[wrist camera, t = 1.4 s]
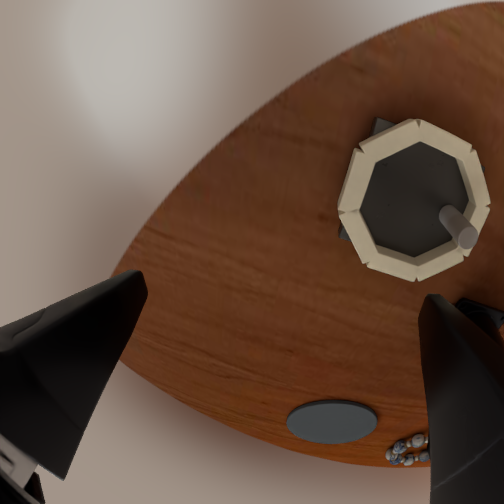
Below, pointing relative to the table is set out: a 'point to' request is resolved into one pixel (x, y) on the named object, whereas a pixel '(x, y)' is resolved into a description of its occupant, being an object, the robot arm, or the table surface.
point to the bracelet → (401, 446)
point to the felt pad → (332, 421)
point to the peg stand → (415, 200)
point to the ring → (359, 181)
